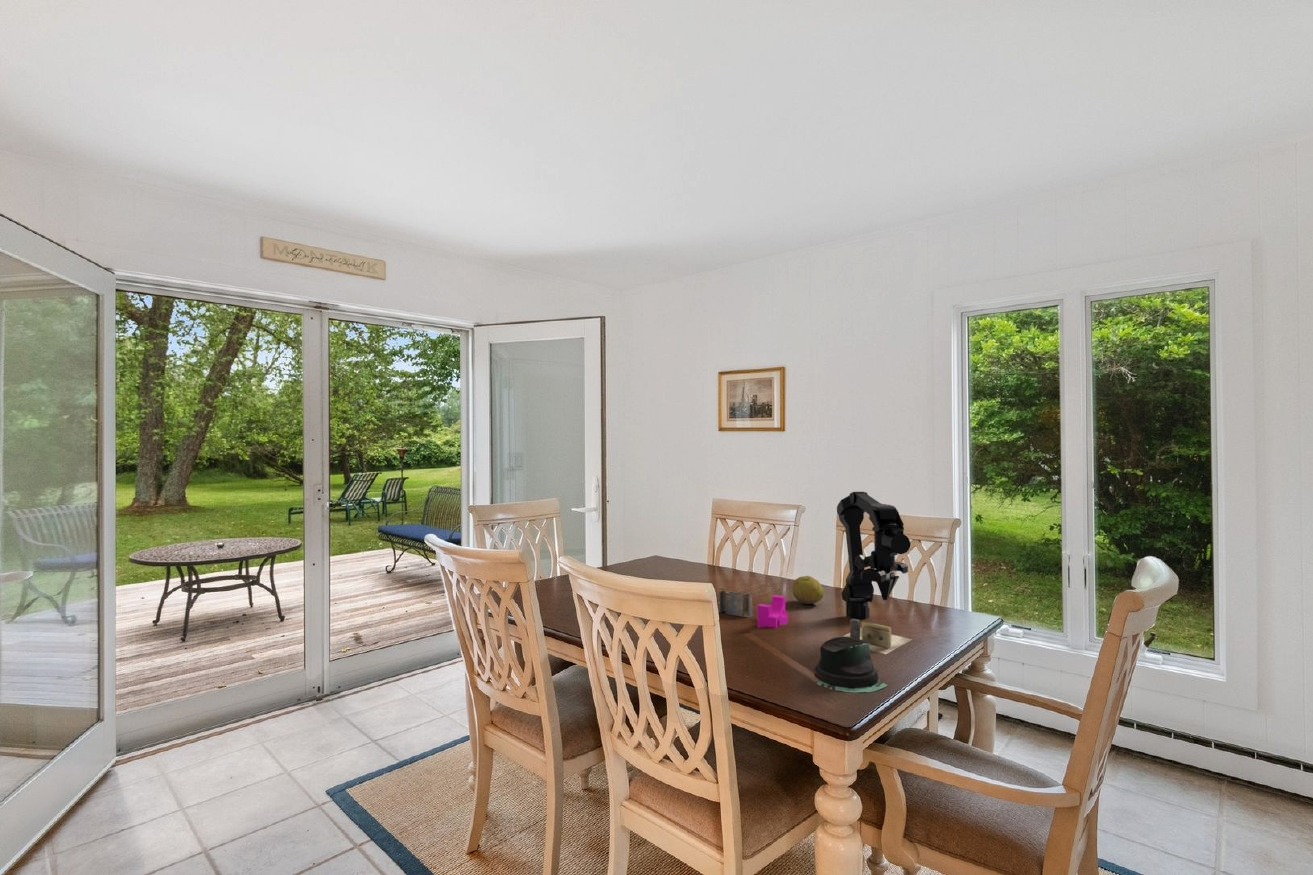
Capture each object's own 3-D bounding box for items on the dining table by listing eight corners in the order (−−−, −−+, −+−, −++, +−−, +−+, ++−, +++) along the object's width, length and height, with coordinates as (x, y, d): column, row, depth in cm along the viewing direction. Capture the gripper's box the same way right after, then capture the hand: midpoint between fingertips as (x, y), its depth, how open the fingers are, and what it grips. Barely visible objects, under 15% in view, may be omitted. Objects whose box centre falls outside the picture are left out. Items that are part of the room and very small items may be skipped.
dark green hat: (821, 657, 169) (821, 624, 169) (896, 672, 157) (896, 637, 157) (794, 682, 152) (794, 645, 152) (876, 700, 141) (875, 660, 141)
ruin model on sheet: (718, 614, 211) (718, 586, 211) (722, 612, 214) (722, 584, 214) (749, 619, 205) (748, 590, 205) (752, 616, 208) (752, 588, 208)
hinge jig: (833, 644, 178) (833, 621, 178) (861, 631, 190) (861, 609, 190) (885, 658, 167) (885, 633, 167) (912, 643, 178) (912, 620, 178)
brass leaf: (861, 639, 178) (861, 621, 178) (863, 638, 179) (863, 620, 179) (889, 646, 172) (889, 628, 172) (891, 645, 172) (891, 627, 172)
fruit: (793, 607, 217) (792, 579, 217) (791, 599, 228) (791, 572, 228) (825, 609, 215) (825, 580, 215) (821, 600, 227) (821, 573, 227)
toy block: (776, 632, 191) (775, 608, 191) (757, 629, 194) (757, 605, 194) (792, 619, 204) (792, 597, 204) (774, 617, 207) (774, 595, 207)
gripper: (873, 540, 194) (874, 589, 194) (844, 548, 181) (844, 601, 181) (908, 545, 186) (908, 595, 186) (879, 553, 173) (880, 608, 173)
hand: (885, 599), depth 182 cm, fingers closed
